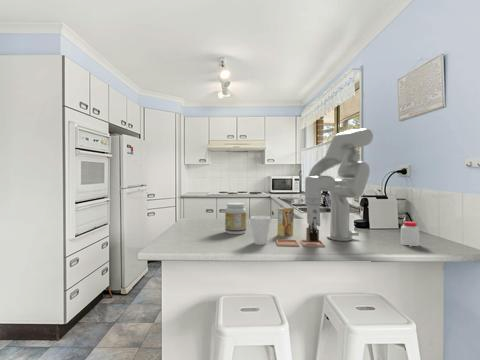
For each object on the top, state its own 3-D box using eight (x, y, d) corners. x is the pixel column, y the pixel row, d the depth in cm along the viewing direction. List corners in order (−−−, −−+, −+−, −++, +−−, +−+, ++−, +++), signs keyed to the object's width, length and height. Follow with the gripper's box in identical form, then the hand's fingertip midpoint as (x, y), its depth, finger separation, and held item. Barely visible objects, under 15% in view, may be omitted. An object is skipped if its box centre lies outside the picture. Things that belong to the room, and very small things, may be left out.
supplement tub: (223, 230, 173) (223, 202, 173) (243, 230, 176) (243, 201, 175) (227, 235, 161) (227, 204, 161) (248, 234, 164) (248, 204, 164)
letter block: (316, 239, 144) (316, 227, 143) (318, 242, 139) (318, 229, 138) (306, 239, 144) (306, 227, 144) (308, 242, 139) (308, 229, 139)
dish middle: (296, 242, 147) (296, 239, 147) (299, 247, 137) (299, 244, 137) (276, 241, 147) (276, 239, 147) (277, 246, 137) (277, 244, 137)
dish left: (320, 242, 146) (320, 240, 146) (325, 247, 136) (325, 245, 136) (300, 242, 146) (300, 239, 146) (303, 247, 137) (303, 244, 136)
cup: (273, 242, 145) (274, 216, 144) (265, 247, 136) (266, 219, 136) (255, 240, 150) (255, 215, 149) (246, 244, 141) (246, 217, 140)
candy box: (287, 233, 166) (288, 206, 166) (293, 235, 163) (294, 207, 163) (277, 235, 161) (277, 208, 160) (282, 237, 157) (283, 208, 157)
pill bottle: (416, 243, 146) (417, 221, 145) (420, 247, 138) (421, 224, 138) (399, 242, 148) (399, 220, 148) (402, 245, 141) (402, 223, 141)
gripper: (324, 204, 132) (324, 244, 132) (317, 200, 149) (316, 235, 149) (308, 203, 132) (307, 243, 133) (302, 200, 149) (301, 235, 150)
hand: (312, 239), depth 141 cm, fingers closed on letter block, 5 cm apart
